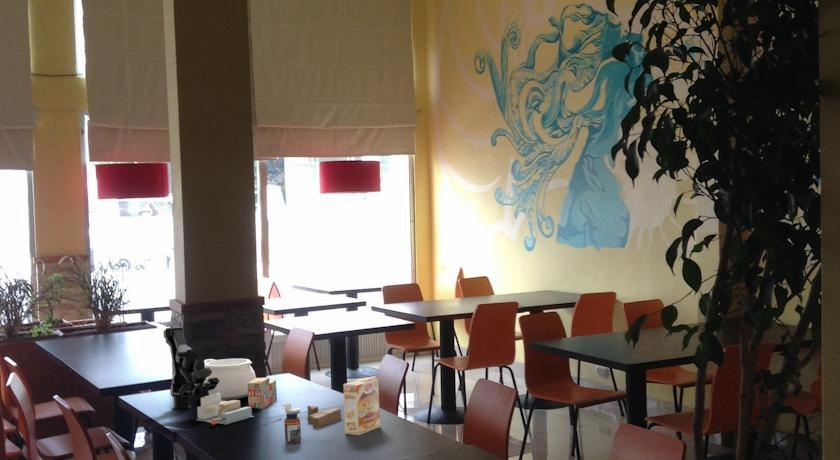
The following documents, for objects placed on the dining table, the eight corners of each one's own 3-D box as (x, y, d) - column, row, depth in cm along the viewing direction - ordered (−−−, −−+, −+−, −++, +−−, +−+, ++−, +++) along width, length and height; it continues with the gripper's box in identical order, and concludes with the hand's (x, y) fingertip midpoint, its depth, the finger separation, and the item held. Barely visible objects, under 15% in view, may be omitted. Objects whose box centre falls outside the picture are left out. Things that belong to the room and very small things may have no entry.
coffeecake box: (359, 435, 330) (356, 385, 330) (344, 433, 334) (342, 384, 334) (381, 426, 343) (379, 378, 343) (366, 425, 347) (364, 377, 347)
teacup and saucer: (302, 411, 379) (302, 402, 379) (292, 416, 372) (292, 406, 371) (285, 410, 382) (285, 401, 382) (275, 414, 375) (275, 405, 375)
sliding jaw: (197, 418, 366) (196, 398, 366) (222, 411, 378) (222, 392, 378) (204, 419, 364) (203, 399, 364) (229, 412, 375) (228, 392, 375)
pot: (269, 392, 424) (268, 358, 423) (231, 403, 401) (229, 367, 401) (227, 388, 439) (225, 355, 439) (187, 399, 417) (186, 363, 417)
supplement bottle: (285, 440, 328) (284, 411, 327) (301, 439, 328) (300, 410, 328) (284, 444, 322) (283, 414, 322) (300, 443, 322) (299, 413, 322)
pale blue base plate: (184, 425, 361) (183, 413, 361) (224, 414, 379) (223, 403, 379) (214, 430, 350) (214, 417, 350) (254, 418, 368) (253, 406, 368)
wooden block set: (342, 405, 362) (318, 415, 345) (342, 419, 362) (319, 429, 346) (308, 403, 369) (284, 412, 353) (309, 416, 369) (284, 426, 353)
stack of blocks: (264, 399, 408) (263, 373, 408) (277, 399, 407) (276, 373, 407) (248, 409, 387) (247, 382, 386) (261, 409, 386) (260, 382, 385)
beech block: (218, 420, 363) (217, 404, 362) (234, 416, 370) (233, 399, 370) (224, 421, 360) (224, 404, 360) (240, 416, 368) (240, 400, 368)
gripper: (181, 365, 367) (200, 393, 361) (215, 359, 383) (233, 385, 376) (170, 382, 372) (188, 410, 366) (204, 375, 387) (222, 401, 381)
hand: (209, 401), depth 372 cm, fingers closed
